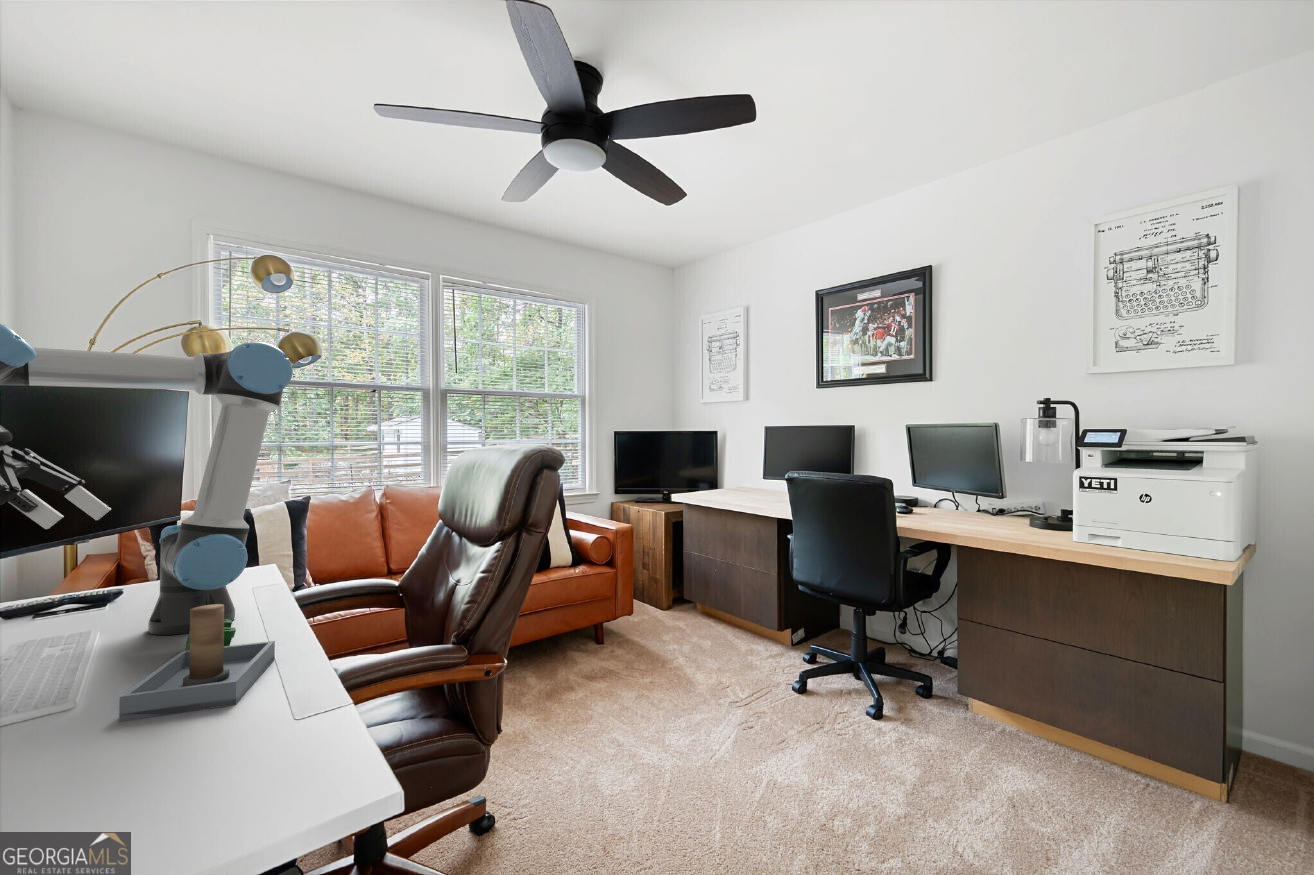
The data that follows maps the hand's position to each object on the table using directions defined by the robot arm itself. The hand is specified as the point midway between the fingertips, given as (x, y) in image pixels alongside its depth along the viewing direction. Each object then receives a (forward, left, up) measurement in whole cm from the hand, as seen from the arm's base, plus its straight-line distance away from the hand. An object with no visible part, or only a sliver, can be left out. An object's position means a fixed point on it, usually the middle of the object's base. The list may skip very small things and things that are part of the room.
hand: (81, 518), depth 96 cm
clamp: (-7, +16, -28) cm, 33 cm away
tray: (+13, +23, -28) cm, 38 cm away
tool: (+13, +23, -27) cm, 37 cm away
